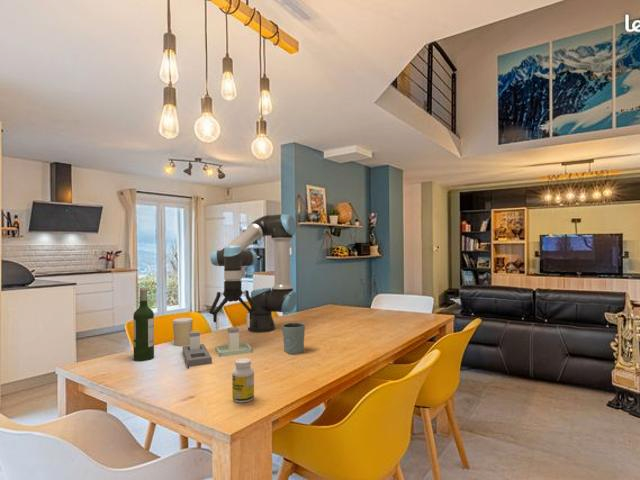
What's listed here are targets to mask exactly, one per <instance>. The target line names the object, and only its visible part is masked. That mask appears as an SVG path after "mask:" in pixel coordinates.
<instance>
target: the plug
mask: <svg viewBox="0 0 640 480" xmlns="http://www.w3.org/2000/svg"><path fill="white" fill-rule="evenodd" d="M239 343H240V329H239V327H237V326H236V327H234V326H233V327H227V345H228V351H234V350H239Z"/></svg>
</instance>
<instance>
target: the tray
mask: <svg viewBox="0 0 640 480" xmlns="http://www.w3.org/2000/svg"><path fill="white" fill-rule="evenodd" d="M214 350H215V352H216V354H217V355H218V356H219V357H220V358H223V357H230V356H231V357H232V356H235V355H244V354H252V353H253V348H252V346H250V344H248V343H247V342H246V341H245V342H239V350H234V351H228V344H223V345H215V346H214Z"/></svg>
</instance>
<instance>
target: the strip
mask: <svg viewBox="0 0 640 480" xmlns="http://www.w3.org/2000/svg"><path fill="white" fill-rule="evenodd" d="M182 355H183V359H184V361H185V364H186V368H187V369H190V368H192V367H198V366H199V367H200V366H205V365H206V366H207V365H212V363H213V362H212V361H213V357H212V355H211V354H210V352H209V351H208V349H207V347H206V346H205V344H204V343H200V349H197V350H189V345H186V346H182Z"/></svg>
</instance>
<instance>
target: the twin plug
mask: <svg viewBox="0 0 640 480" xmlns="http://www.w3.org/2000/svg"><path fill="white" fill-rule="evenodd" d="M200 344H201V332H200V330H192V331H191V332H189V345H188V346H189V350H197V349H200Z"/></svg>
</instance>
